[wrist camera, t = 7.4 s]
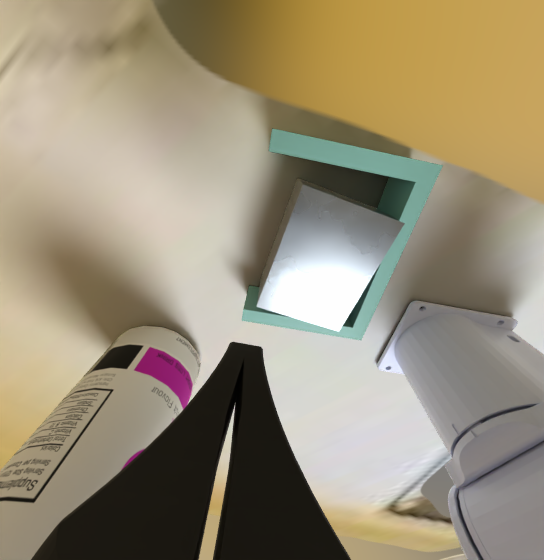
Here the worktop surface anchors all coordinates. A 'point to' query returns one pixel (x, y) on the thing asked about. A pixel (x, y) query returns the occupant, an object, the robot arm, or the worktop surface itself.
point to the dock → (395, 202)
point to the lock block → (324, 255)
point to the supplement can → (94, 434)
